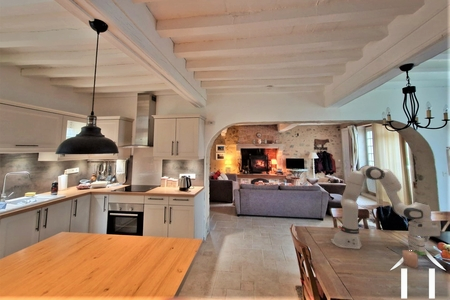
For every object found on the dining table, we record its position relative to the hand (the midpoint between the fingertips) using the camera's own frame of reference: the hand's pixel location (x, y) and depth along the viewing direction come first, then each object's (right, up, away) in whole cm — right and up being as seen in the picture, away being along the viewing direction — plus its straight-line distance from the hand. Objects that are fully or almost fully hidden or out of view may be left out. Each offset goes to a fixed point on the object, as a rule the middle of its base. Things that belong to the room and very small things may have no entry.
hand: (425, 241), depth 135 cm
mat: (-16, -9, 0) cm, 18 cm away
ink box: (-6, -9, 0) cm, 11 cm away
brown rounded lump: (-27, -8, -15) cm, 32 cm away
